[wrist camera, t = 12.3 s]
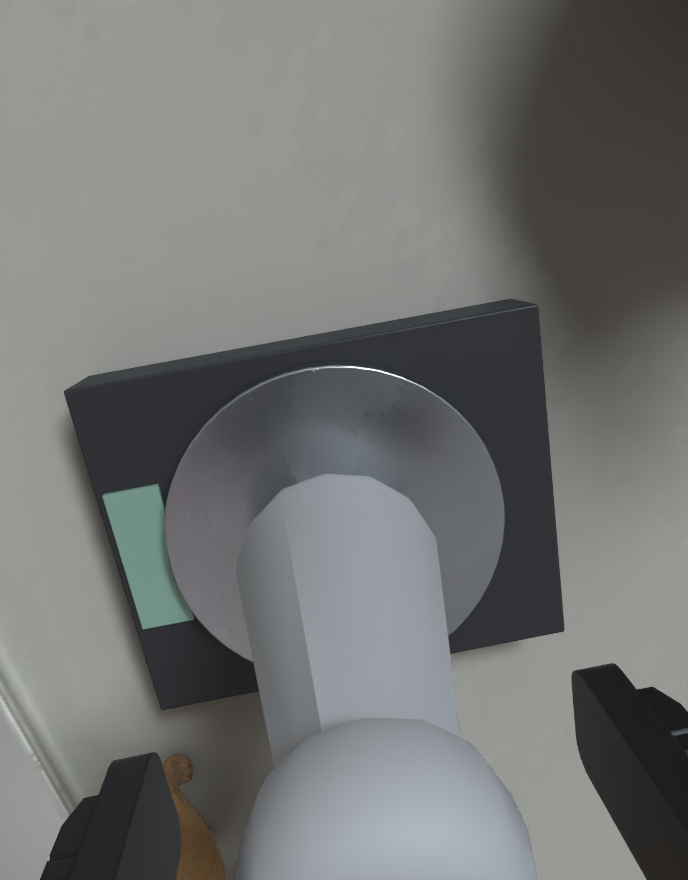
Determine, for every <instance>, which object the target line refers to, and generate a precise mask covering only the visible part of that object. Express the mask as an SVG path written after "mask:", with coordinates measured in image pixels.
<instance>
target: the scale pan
mask: <svg viewBox="0 0 688 880" xmlns="http://www.w3.org/2000/svg"><path fill="white" fill-rule="evenodd" d="M323 474H342V475H358V476H370V477H372V478H374V479H376V480H377V481H379V482H381V483H383V484H385V485H386V486H388V487H390V488H392V489H394V490H395V491H397V492H399V493H401V494H403V495H404V496H406V497H408V498H409V499H410V501H411V502H412V503H413V504H414V506H415V507H416V509H417V510H418V512H419V513H420V515H421V516H422V517H423V519H424V520H425V522H426V523H427V525H428V526H429V528H430V529H431V531H432V532H433V534H434V535H435V537H436V541H437V549H438V558H439V566H440V574H441V582H442V591H443V599H444V607H445V615H446V623H447V632H448V636H449V635H450V634H451V633H453V632H454V631H455V630H456V629H457V628H458V627H459V626H460V625H461V624H462V622H463V621H464V620H465V619H466V618H467V617H468V616H469V615H470V613H471V612H472V611H473V609H474V608H475V607H476V605H477V604H478V602H479V601H480V600H481V598H482V596H483V594H484V593H485V591H486V589H487V587H488V585H489V583H490V582H491V579H492V577H493V574H494V571H495V569H496V566H497V564H498V560H499V556H500V552H501V548H502V544H503V536H504V526H505V510H504V498H503V492H502V487H501V481H500V478H499V475H498V472H497V469H496V466H495V463H494V461H493V459H492V457H491V455H490V453H489V451H488V449H487V447H486V445H485V443H484V442H483V440H482V439H481V437H480V436H479V434H478V433H477V431H476V430H475V429H474V427H473V426H472V425H471V424H470V422H469V421H468V420H467V419H466V418H465V417H464V416H463V415H462V414H461V413H460V412H459V411H458V410H457V409H456V408H455V407H454V406H453V405H452V404H451V403H450V402H448V401H447V400H446V399H445V398H443V397H442V396H441V395H440V394H439V393H437V392H436V391H434V390H433V389H431V388H429V387H428V386H426V385H425V384H423V383H421V382H420V381H418V380H416V379H414V378H411V377H409V376H407V375H404V374H402V373H400V372H397V371H394V370H391V369H387V368H384V367H380V366H377V365H371V364H364V363H358V362H334V361H328V362H320V363H311V364H304V365H300V366H297V367H293V368H289V369H285V370H282V371H279V372H277V373H274V374H271V375H269V376H266V377H264V378H261V379H260V380H258V381H256V382H254V383H252V384H251V385H249V386H247V387H245V388H243V389H242V390H240V391H239V392H238V393H236V394H235V395H234V396H232V397H231V398H230V399H228V400H227V401H226V402H224V403H223V404H222V405H221V406H220V407H219V408H218V409H217V410H216V411H215V412H214V413H213V414H212V415H211V416H210V417H209V418H208V419H207V420H206V421H205V422H204V424H203V425H202V426H201V428H200V429H199V430H198V431H197V433H196V434H195V435H194V437H193V438H192V440H191V442H190V444H189V445H188V447H187V449H186V451H185V452H184V454H183V456H182V458H181V459H180V461H179V464H178V466H177V469H176V471H175V474H174V476H173V479H172V481H171V485H170V489H169V493H168V497H167V502H166V510H165V522H164V529H165V546H166V551H167V556H168V560H169V565H170V568H171V571H172V574H173V577H174V579H175V582H176V585H177V587H178V589H179V591H180V593H181V595H182V596H183V598H184V600H185V602H186V604H187V605H188V607H189V608H190V609H191V611H192V612H193V614H194V615H195V616H196V618H197V619H198V621H199V622H200V623H201V624H202V625H203V626H204V627H205V628H206V629H207V630H208V631H209V632H210V633H211V634H212V635H213V636H214V637H215V638H216V639H218V640H219V641H220V642H221V643H222V644H224V645H225V646H226V647H227V648H229V649H230V650H232V651H234V652H235V653H237V654H238V655H240V656H242V657H243V658H245V659H247V660H249V661H251V662H253V657H252V652H251V647H250V642H249V637H248V632H247V627H246V622H245V617H244V612H243V607H242V602H241V596H240V591H239V586H238V581H237V576H236V571H235V566H236V563H237V560H238V557H239V554H240V551H241V549H242V546H243V543H244V540H245V537H246V534H247V531H248V528H249V526H250V524H251V523H252V521H253V520H254V519H255V518H256V517H257V515H258V514H259V513H260V512H261V511H262V510H263V509H264V508H265V507H266V506H267V505H268V504H269V503H270V502H271V501H272V500H273V499H274V498H275V496H276V495H277V494H278V493H279V492H280V491H281V490H282V489H284V488H287V487H290V486H292V485H295V484H298V483H301V482H303V481H306V480H309V479H312V478H314V477H317V476H320V475H323ZM253 663H254V662H253Z"/></svg>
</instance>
